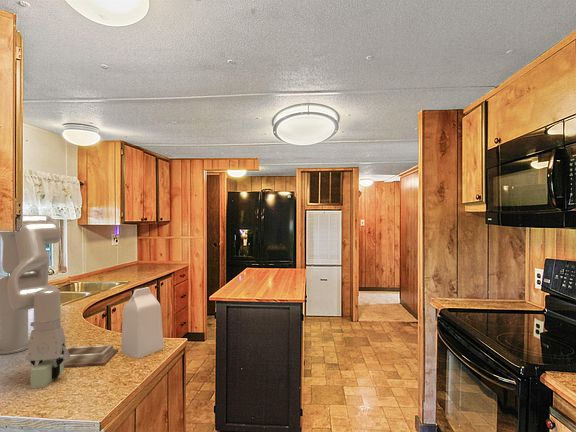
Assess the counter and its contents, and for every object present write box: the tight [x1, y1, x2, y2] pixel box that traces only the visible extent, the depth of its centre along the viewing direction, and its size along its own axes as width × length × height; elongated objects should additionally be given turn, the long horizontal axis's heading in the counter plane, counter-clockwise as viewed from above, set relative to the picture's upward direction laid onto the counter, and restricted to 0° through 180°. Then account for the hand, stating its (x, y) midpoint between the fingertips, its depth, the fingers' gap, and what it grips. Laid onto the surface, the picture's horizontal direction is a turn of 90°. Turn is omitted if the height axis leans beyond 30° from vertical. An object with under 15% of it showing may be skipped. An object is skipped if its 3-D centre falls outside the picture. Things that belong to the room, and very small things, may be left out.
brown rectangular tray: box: [64, 344, 119, 369], centre depth 130 cm, size 20×13×4 cm, turn 97°
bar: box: [30, 355, 65, 389], centre depth 115 cm, size 4×12×6 cm, turn 7°
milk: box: [120, 286, 165, 360], centre depth 139 cm, size 12×12×26 cm
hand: (48, 377), depth 115 cm, fingers closed on bar, 4 cm apart
